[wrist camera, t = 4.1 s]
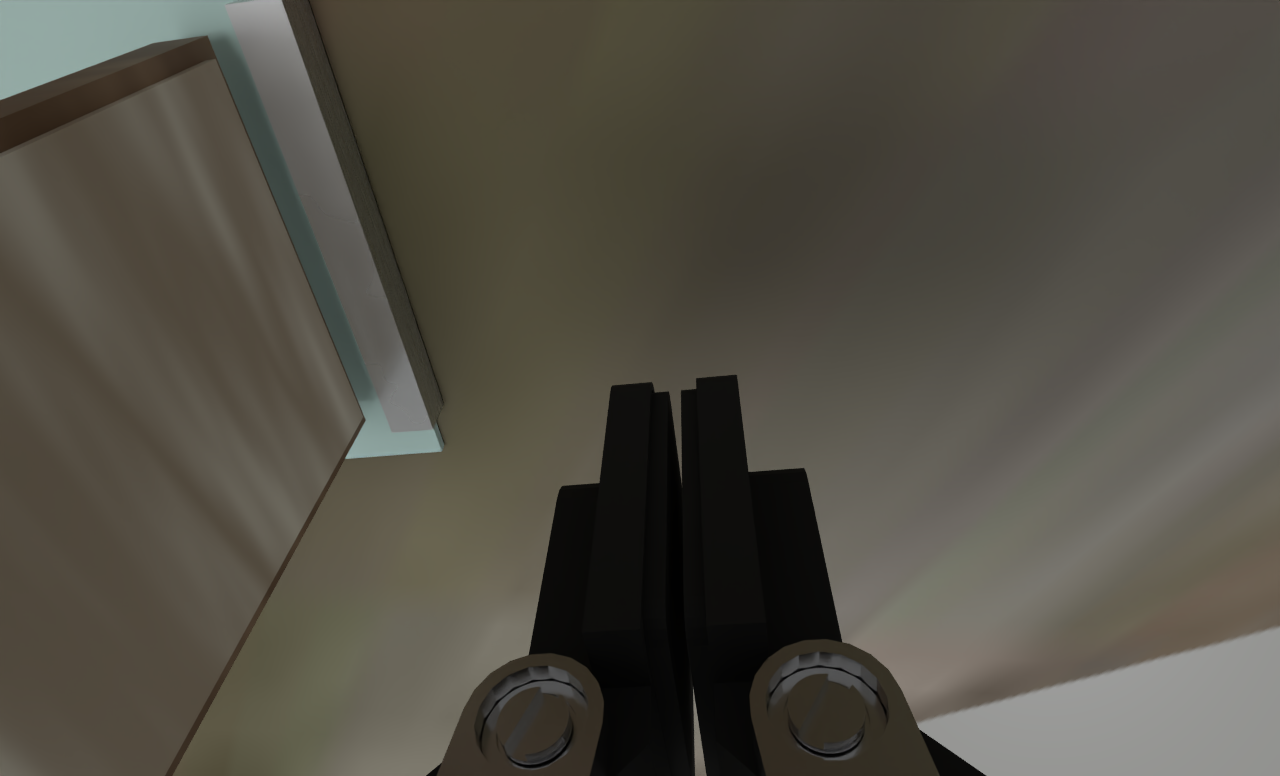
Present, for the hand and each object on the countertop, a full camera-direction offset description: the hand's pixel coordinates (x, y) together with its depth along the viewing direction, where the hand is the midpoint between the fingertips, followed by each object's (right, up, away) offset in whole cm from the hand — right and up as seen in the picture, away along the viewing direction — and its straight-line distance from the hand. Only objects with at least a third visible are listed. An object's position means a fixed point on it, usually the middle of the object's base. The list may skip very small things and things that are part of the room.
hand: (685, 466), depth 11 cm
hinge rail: (-8, +5, +9) cm, 13 cm away
